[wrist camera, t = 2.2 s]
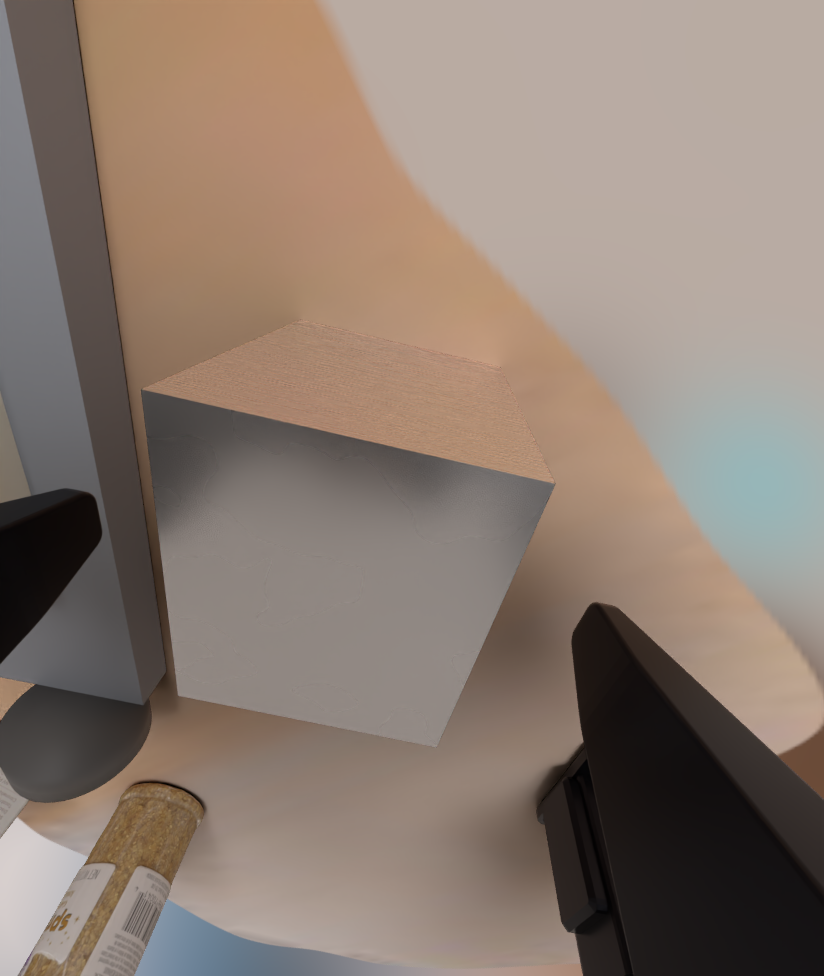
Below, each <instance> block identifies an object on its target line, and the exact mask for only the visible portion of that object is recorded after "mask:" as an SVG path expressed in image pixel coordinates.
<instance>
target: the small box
mask: <svg viewBox="0 0 824 976" xmlns="http://www.w3.org/2000/svg"><path fill="white" fill-rule="evenodd" d="M28 801H29V800H28V799H26V798H24V797H22V796H20V795H19V794H18V793H16V792H15V791H14V789H13V788H12V787H11V785H10V784H9V782H8V780H7V778H6V776H5V775H4V773H3V771H2V769H1V768H0V838H1V837H2V836H3V834H4V833H5V832H6V830H7V829H8V828H9V827H10V825H11V824H12V823H13V821H14V820H15V819H16V817H17V816H18V815H19V813H20V812H21V811H22V810H23V808H24V807H25V805H26V804H27V803H28Z"/></svg>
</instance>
